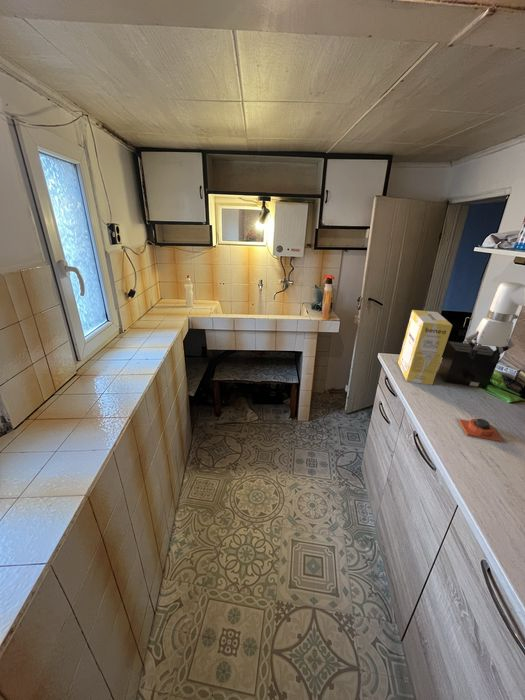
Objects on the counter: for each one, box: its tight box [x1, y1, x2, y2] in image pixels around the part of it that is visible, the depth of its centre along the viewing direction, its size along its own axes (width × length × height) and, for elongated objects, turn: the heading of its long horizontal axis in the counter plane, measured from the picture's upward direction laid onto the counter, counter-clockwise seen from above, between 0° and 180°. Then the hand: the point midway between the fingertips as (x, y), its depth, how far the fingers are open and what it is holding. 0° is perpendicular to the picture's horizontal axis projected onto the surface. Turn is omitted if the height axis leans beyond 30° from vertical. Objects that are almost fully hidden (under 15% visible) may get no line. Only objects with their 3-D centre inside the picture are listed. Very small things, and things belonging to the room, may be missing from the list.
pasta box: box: [397, 309, 453, 386], centre depth 125 cm, size 18×10×28 cm, turn 167°
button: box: [475, 418, 491, 430], centre depth 94 cm, size 4×4×2 cm
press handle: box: [465, 375, 479, 388], centre depth 117 cm, size 3×6×2 cm, turn 164°
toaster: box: [437, 340, 501, 389], centre depth 124 cm, size 16×11×16 cm
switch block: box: [458, 418, 503, 443], centre depth 94 cm, size 10×8×3 cm
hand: (482, 359), depth 111 cm, fingers open, 6 cm apart
